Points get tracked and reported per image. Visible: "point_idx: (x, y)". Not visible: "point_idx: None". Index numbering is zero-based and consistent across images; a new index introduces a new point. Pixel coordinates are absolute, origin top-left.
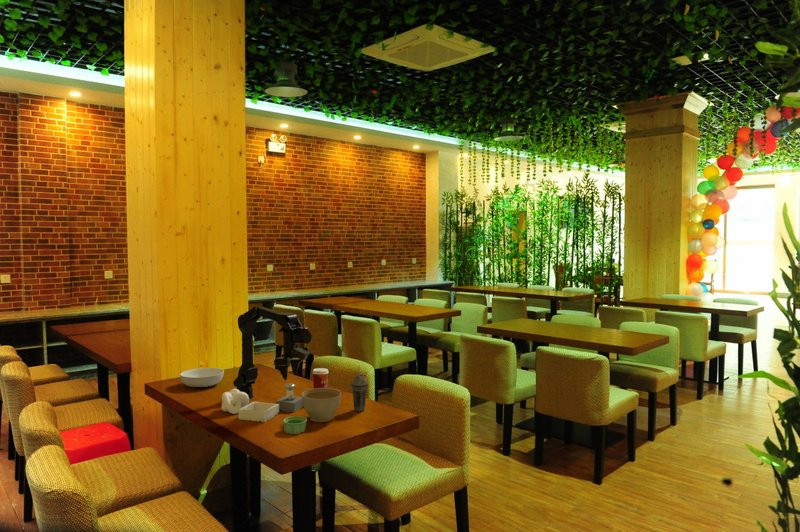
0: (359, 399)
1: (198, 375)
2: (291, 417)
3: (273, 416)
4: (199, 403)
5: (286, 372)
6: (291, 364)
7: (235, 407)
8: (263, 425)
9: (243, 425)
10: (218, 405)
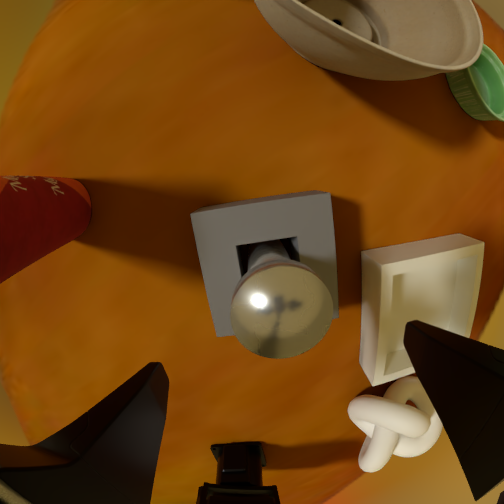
0: None
1: None
2: (485, 102)
3: (407, 243)
4: (333, 479)
5: (495, 348)
6: (144, 501)
7: (418, 391)
8: (478, 216)
9: (486, 276)
10: (336, 455)
